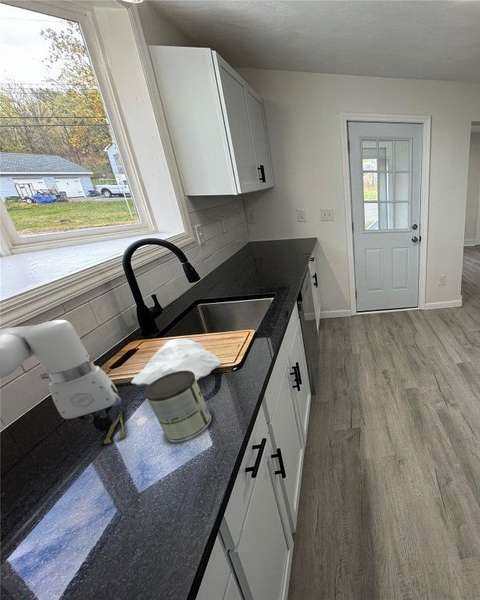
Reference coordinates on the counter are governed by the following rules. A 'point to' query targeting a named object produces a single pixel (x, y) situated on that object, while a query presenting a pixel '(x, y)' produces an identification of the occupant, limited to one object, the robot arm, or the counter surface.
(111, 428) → the tongs
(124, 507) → the counter surface
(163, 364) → the crumpled cloth
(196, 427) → the coffee can
